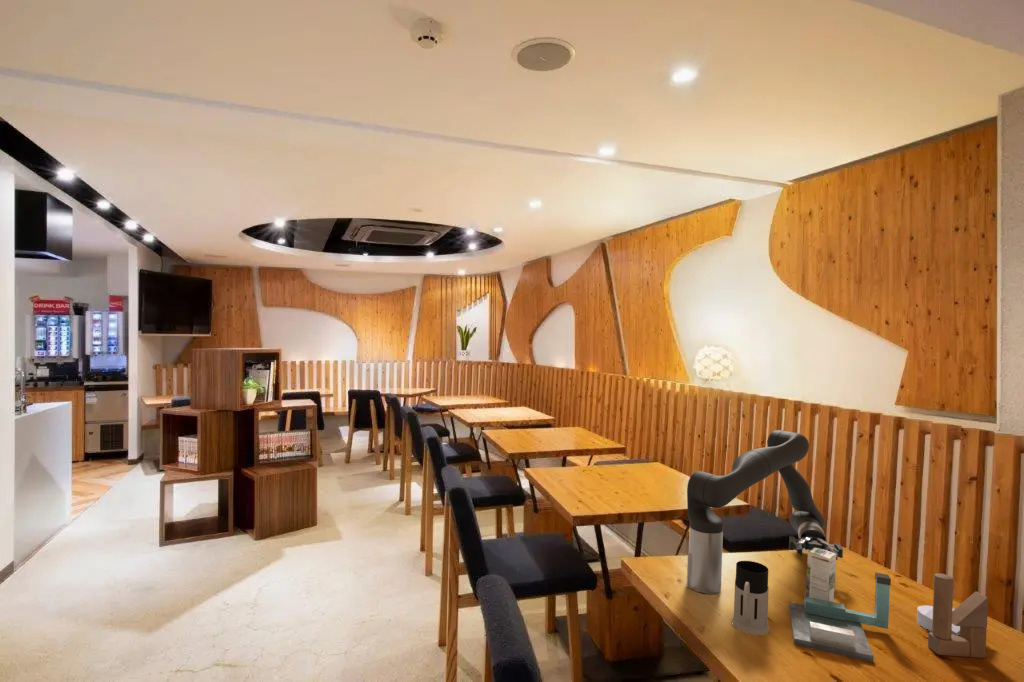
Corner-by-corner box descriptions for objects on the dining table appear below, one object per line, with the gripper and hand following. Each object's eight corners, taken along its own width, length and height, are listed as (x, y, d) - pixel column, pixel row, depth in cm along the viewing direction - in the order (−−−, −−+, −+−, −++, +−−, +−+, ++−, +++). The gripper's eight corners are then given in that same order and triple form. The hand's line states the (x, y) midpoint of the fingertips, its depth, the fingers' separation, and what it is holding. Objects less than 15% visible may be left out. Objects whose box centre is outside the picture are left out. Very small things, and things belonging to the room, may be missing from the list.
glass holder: (771, 623, 139) (773, 565, 139) (763, 649, 127) (765, 585, 127) (735, 613, 144) (737, 556, 144) (724, 637, 132) (726, 576, 132)
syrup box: (811, 597, 154) (813, 546, 154) (834, 604, 150) (836, 552, 150) (804, 603, 150) (806, 551, 150) (828, 611, 146) (830, 558, 146)
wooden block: (986, 658, 126) (989, 581, 126) (938, 655, 127) (940, 579, 126) (973, 649, 130) (976, 574, 129) (927, 646, 130) (929, 572, 130)
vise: (794, 644, 129) (794, 625, 129) (788, 607, 148) (789, 590, 148) (873, 662, 123) (873, 642, 123) (857, 621, 141) (858, 604, 141)
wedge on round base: (987, 644, 132) (937, 617, 145) (988, 617, 132) (938, 592, 145) (956, 647, 131) (908, 619, 143) (957, 619, 131) (909, 593, 143)
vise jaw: (805, 612, 142) (806, 564, 142) (804, 607, 145) (805, 560, 145) (889, 630, 134) (891, 579, 134) (886, 623, 137) (888, 574, 137)
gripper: (787, 521, 177) (790, 538, 162) (837, 528, 171) (846, 546, 156) (786, 544, 177) (789, 563, 162) (837, 552, 171) (845, 572, 156)
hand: (817, 555), depth 159 cm, fingers open, 8 cm apart
